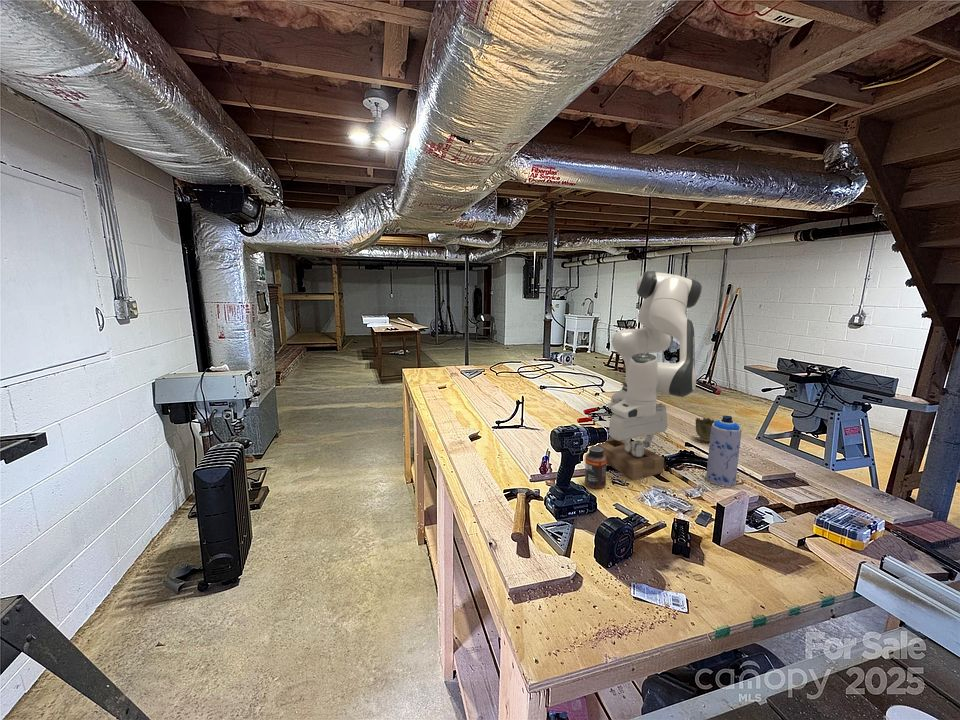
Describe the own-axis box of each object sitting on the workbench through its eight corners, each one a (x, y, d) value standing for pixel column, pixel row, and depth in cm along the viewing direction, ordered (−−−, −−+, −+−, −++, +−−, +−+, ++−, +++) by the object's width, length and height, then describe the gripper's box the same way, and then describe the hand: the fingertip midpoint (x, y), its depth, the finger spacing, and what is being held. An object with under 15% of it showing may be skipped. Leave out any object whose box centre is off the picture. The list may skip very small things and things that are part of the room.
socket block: (591, 453, 133) (591, 440, 132) (618, 448, 137) (619, 435, 136) (632, 480, 115) (633, 464, 114) (663, 472, 119) (664, 457, 118)
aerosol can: (734, 477, 115) (742, 414, 112) (737, 489, 109) (745, 422, 105) (704, 471, 119) (711, 410, 115) (705, 483, 112) (712, 418, 109)
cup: (710, 437, 146) (712, 417, 144) (720, 445, 139) (722, 424, 137) (690, 436, 147) (692, 417, 145) (699, 444, 139) (701, 423, 138)
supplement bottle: (605, 481, 114) (607, 445, 112) (605, 491, 109) (607, 454, 107) (585, 478, 116) (586, 443, 114) (583, 487, 111) (585, 451, 109)
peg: (627, 467, 122) (629, 441, 121) (636, 466, 124) (638, 439, 122) (636, 472, 119) (637, 445, 117) (645, 470, 120) (647, 444, 119)
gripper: (658, 399, 124) (655, 439, 127) (606, 407, 117) (604, 449, 119) (674, 405, 118) (670, 447, 121) (621, 413, 111) (618, 457, 114)
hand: (637, 448), depth 120 cm, fingers open, 6 cm apart
